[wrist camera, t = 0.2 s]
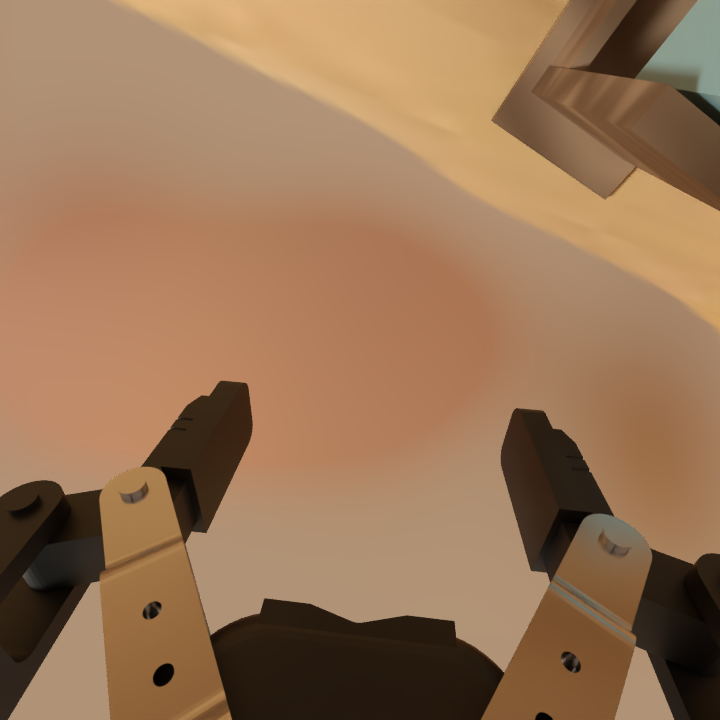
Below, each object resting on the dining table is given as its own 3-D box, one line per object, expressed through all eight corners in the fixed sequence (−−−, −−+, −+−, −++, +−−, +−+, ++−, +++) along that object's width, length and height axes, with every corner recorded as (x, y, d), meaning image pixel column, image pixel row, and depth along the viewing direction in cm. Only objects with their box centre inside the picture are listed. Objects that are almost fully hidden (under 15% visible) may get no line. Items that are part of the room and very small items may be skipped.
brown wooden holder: (690, -185, 19) (1144, -545, 7) (821, -44, 21) (1320, -149, 10) (491, 120, 27) (557, 178, 15) (602, 197, 29) (730, 297, 18)
